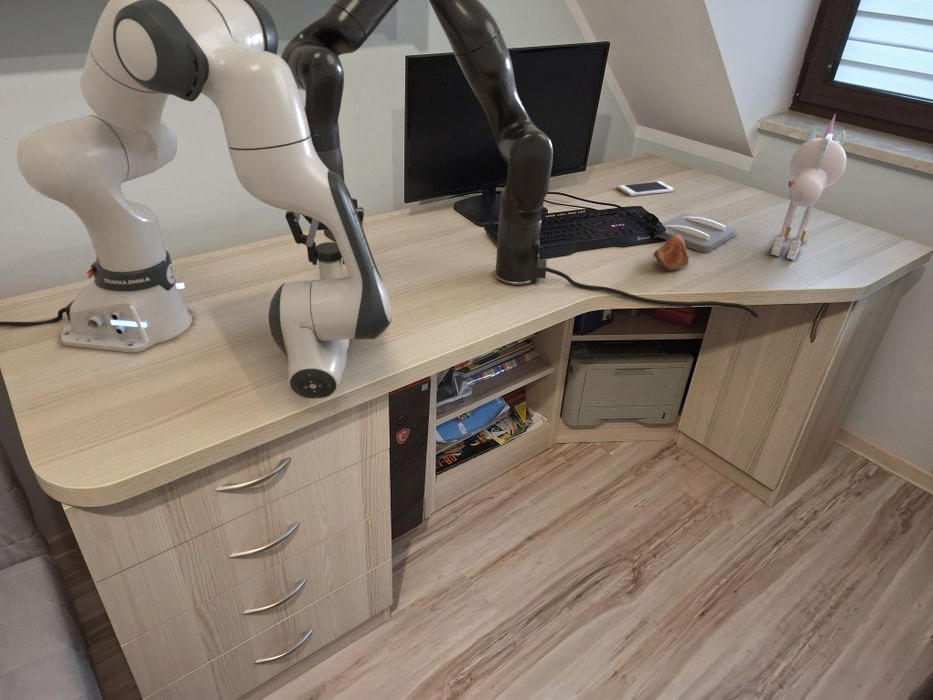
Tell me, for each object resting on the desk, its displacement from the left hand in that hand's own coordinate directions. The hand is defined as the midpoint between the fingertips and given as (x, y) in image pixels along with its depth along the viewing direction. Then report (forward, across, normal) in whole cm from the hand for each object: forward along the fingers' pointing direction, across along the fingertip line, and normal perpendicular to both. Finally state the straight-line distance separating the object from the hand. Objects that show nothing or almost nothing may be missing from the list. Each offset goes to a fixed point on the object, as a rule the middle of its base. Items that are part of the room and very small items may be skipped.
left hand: (333, 293), depth 122 cm
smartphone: (+77, -86, +6) cm, 116 cm away
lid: (-1, 0, -10) cm, 10 cm away
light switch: (+43, -89, +6) cm, 99 cm away
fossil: (+25, -76, +6) cm, 80 cm away
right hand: (-1, 0, -7) cm, 7 cm away
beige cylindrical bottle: (-1, 0, +6) cm, 6 cm away
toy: (+40, -114, +6) cm, 121 cm away
